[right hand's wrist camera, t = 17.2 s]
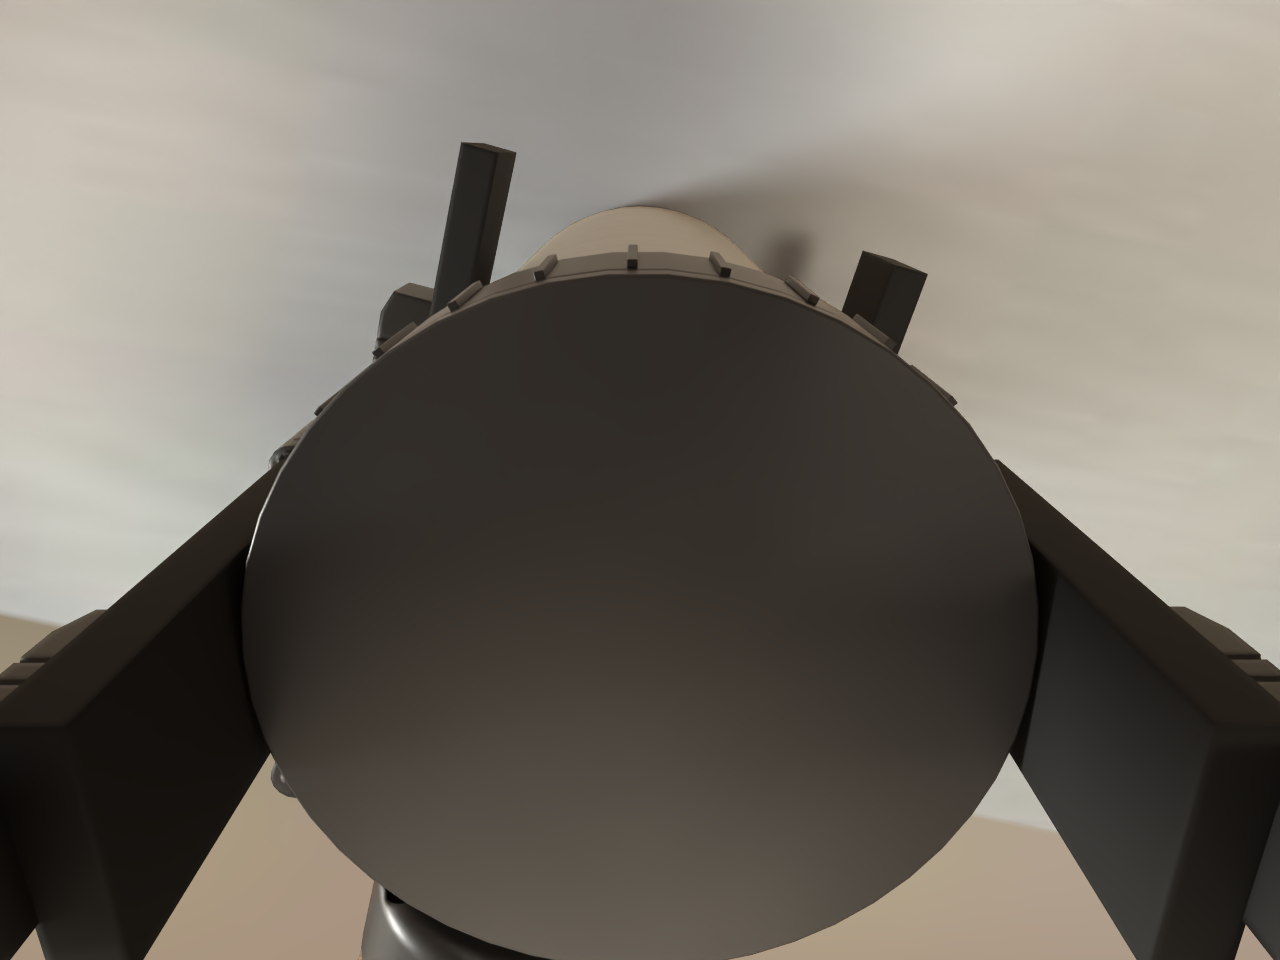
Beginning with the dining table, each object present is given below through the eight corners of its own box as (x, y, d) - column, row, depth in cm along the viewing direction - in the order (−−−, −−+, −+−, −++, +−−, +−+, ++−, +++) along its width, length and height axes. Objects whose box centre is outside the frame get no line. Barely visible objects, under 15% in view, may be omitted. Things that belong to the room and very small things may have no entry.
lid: (1080, 324, 11) (1179, 363, 9) (868, 895, 14) (906, 1017, 12) (324, 171, 10) (249, 178, 8) (284, 806, 13) (222, 919, 11)
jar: (708, 514, 29) (792, 969, 13) (466, 419, 28) (226, 787, 12) (824, 274, 26) (1116, 471, 10) (561, 158, 25) (421, 172, 9)
